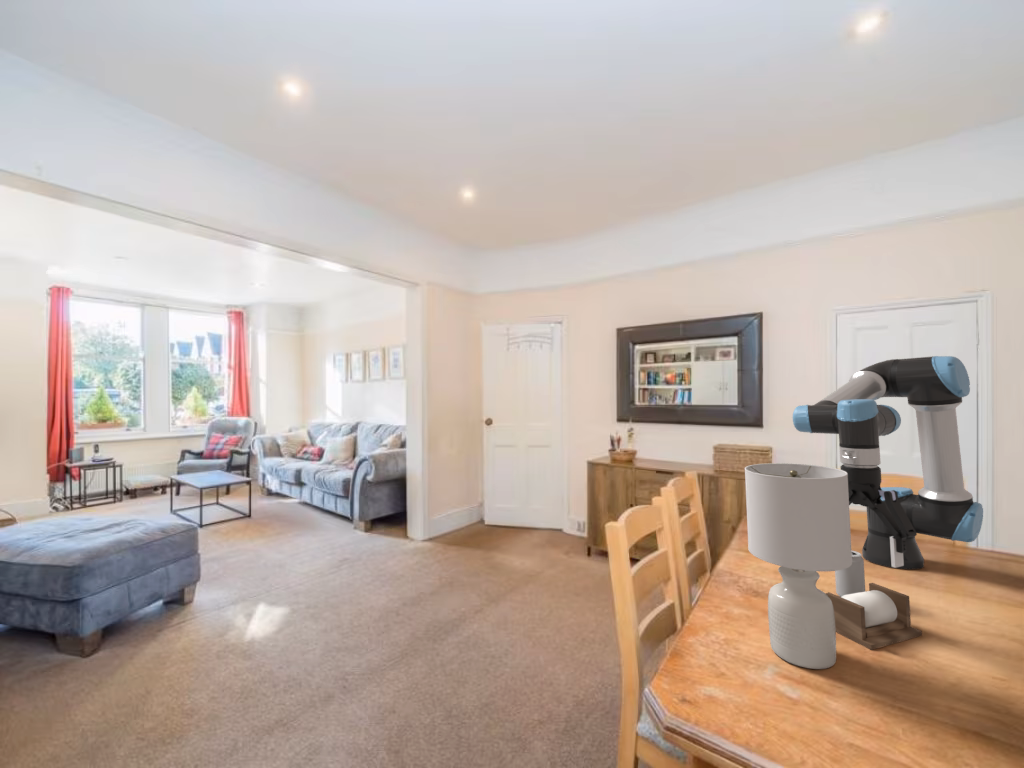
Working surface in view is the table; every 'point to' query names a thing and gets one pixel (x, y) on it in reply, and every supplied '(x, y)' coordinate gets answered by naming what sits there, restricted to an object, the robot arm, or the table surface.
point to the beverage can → (851, 577)
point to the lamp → (800, 552)
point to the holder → (873, 637)
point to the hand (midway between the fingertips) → (865, 556)
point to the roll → (874, 607)
